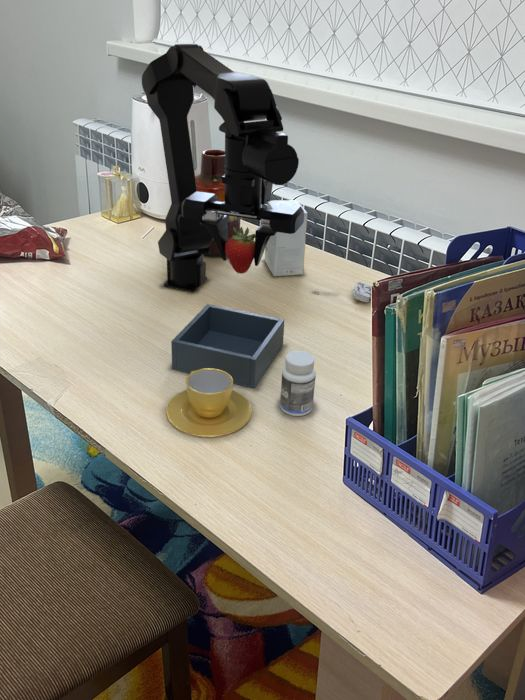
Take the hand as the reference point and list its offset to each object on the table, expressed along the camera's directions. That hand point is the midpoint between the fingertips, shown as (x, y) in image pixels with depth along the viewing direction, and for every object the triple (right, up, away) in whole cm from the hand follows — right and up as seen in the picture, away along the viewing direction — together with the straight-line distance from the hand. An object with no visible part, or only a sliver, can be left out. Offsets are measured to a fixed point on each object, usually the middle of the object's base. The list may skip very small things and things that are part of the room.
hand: (241, 262), depth 113 cm
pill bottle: (+8, -23, -13) cm, 28 cm away
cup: (-4, -23, -15) cm, 28 cm away
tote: (-2, -15, -2) cm, 16 cm away
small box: (+8, +2, +29) cm, 30 cm away
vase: (-7, +8, +37) cm, 38 cm away
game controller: (+19, -4, +19) cm, 28 cm away
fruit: (0, -2, +1) cm, 2 cm away
